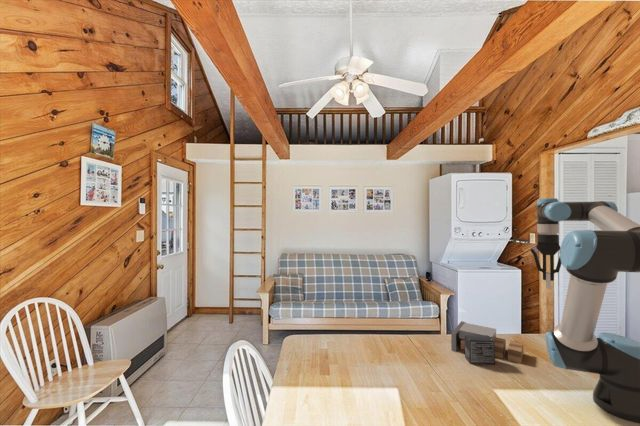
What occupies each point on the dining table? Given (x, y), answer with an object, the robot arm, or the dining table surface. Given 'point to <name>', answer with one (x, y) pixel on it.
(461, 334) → the slab
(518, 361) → the bed
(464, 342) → the block
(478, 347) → the small box
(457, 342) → the bar
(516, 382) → the dining table surface
